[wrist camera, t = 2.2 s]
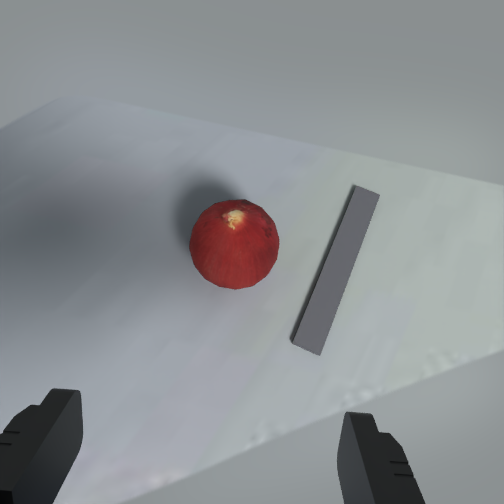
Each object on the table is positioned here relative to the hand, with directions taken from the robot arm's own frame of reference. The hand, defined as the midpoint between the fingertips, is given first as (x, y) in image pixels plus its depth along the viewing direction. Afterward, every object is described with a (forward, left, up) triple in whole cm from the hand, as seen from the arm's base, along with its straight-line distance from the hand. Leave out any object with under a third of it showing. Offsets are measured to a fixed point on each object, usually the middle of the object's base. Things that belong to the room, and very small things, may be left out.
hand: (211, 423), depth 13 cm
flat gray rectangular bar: (+3, +14, -15) cm, 21 cm away
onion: (-4, +11, -15) cm, 19 cm away
